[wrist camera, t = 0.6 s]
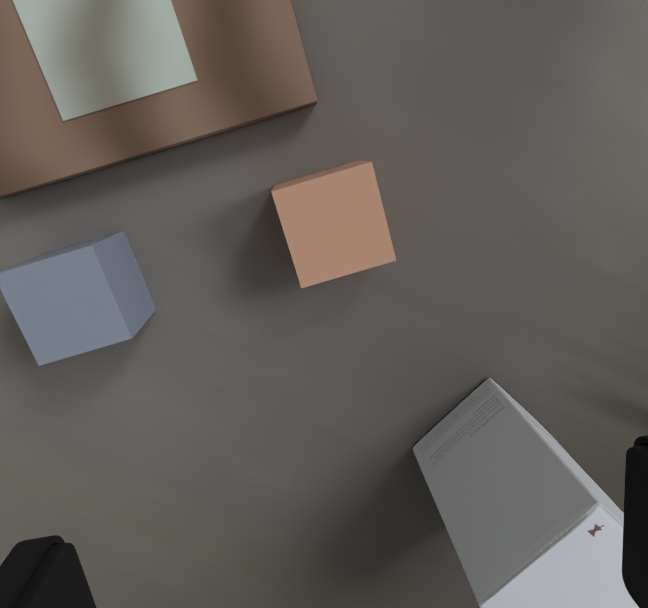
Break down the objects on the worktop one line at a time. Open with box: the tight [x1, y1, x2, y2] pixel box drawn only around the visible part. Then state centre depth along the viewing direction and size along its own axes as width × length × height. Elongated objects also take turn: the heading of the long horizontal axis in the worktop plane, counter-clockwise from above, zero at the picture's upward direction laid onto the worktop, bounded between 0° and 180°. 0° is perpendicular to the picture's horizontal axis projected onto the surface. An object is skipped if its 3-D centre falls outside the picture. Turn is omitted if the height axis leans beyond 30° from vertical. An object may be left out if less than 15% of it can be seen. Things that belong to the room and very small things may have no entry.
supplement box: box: [413, 378, 639, 608], centre depth 29 cm, size 7×7×13 cm
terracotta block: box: [271, 160, 396, 289], centre depth 27 cm, size 5×5×5 cm
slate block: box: [0, 230, 156, 366], centre depth 27 cm, size 5×5×5 cm
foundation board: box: [0, 0, 318, 199], centre depth 25 cm, size 18×12×2 cm, turn 106°
